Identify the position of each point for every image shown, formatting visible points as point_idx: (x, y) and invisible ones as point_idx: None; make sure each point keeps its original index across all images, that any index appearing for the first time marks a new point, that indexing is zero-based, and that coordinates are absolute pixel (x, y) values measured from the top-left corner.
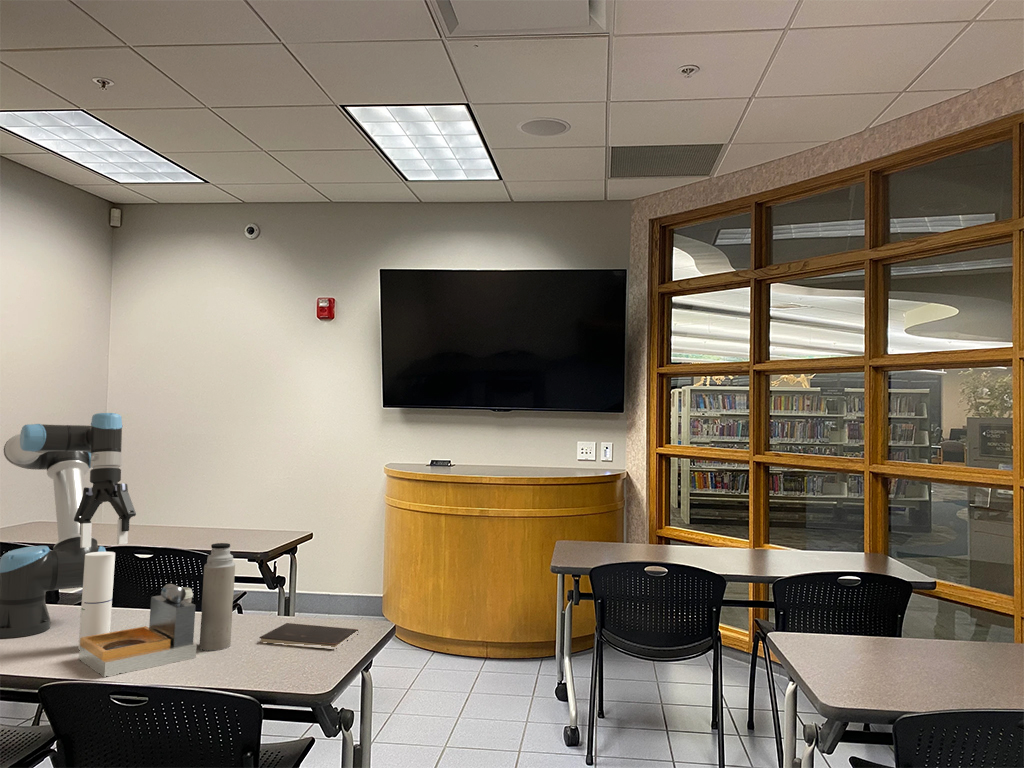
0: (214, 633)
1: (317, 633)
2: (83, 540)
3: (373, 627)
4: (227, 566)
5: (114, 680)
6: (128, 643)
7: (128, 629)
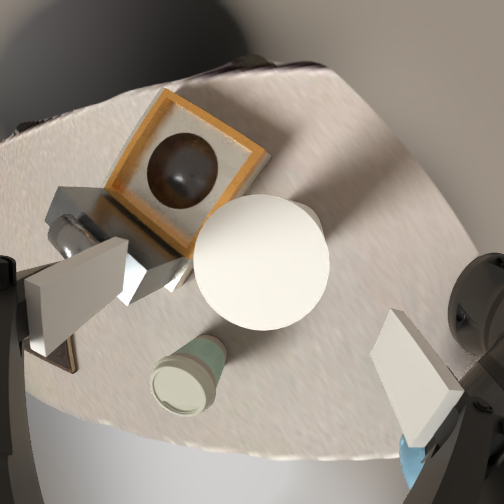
0: None
1: None
2: (400, 331)
3: None
4: None
5: (153, 91)
6: (181, 183)
7: None
